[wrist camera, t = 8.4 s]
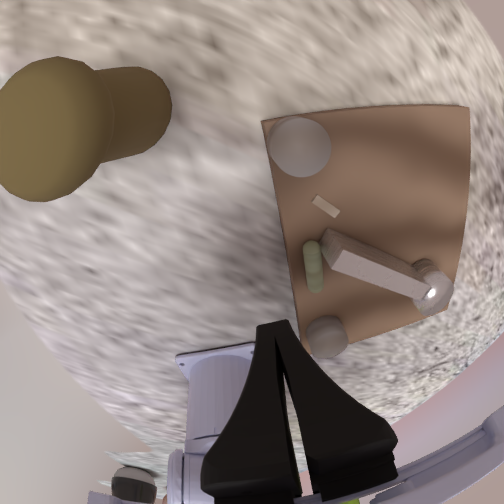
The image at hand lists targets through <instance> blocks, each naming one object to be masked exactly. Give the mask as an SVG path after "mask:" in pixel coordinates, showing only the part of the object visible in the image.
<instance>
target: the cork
mask: <svg viewBox="0 0 504 504" xmlns="http://www.w3.org/2000/svg"><path fill="white" fill-rule="evenodd" d="M171 110H172V103H171V98H170V92H169V90H168V88H167V87H166V85H165V83H164V82H163V80H162V79H161V78H160V77H159V76H157V75H156V74H155V73H154V72H152V71H150V70H147V69H144V68H141V67H120V68H111V69H102V70H95V71H94V70H93V69H92V68H90V67H89V66H88V65H86V64H85V63H84V62H81V61H77V60H73V59H69V58H64V57H59V56H57V57H52V58H47V59H42V60H38V61H35V62H32V63H30V64H28V65H27V66H25V67H24V68H22V69H21V70H19V71H18V72H16V73H15V74H14V75H13V76H12V77H11V78H10V79H9V80H8V81H7V82H6V84H5V85H4V86H3V87H2V89H1V90H0V184H1V185H2V186H3V187H4V188H5V189H6V190H7V191H8V192H9V193H11V194H13V195H15V196H17V197H19V198H22V199H24V200H27V201H33V202H48V201H52V200H55V199H58V198H60V197H63V196H66V195H69V194H71V193H72V192H73V191H75V190H76V189H77V188H78V187H79V186H81V185H82V184H83V183H84V182H86V181H87V180H88V179H89V178H91V177H92V175H93V174H94V172H95V171H96V169H97V168H98V166H99V165H100V163H104V162H108V161H112V160H116V159H120V158H124V157H129V156H132V155H136V154H139V153H143V152H144V151H146V150H147V149H149V148H150V147H152V146H154V145H155V144H156V143H157V141H158V140H159V139H160V138H161V137H162V136H163V134H164V133H165V131H166V128H167V126H168V124H169V122H170V118H171Z"/></svg>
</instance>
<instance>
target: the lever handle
mask: <svg viewBox="0 0 504 504" xmlns="http://www.w3.org/2000/svg"><path fill="white" fill-rule="evenodd" d="M319 245H320V247H321V252H322V253H323V255H324V257H325V259H326V261H327V262H328V264H329V266H330V268H331V269H332V270H335V271H338V272H341V273H344V274H346V275H349V276H352V277H355V278H358V279H361V280H363V281H366V282H369V283H372V284H375V285H377V286H380V287H383V288H386V289H389V290H391V291H394V292H397V293H400V294H403V295H405V296H408V297H409V298H410V299H411V301H412V302H413V303H414V305H415V306H416V307H417V309H418V310H419V312H420V313H421V314H422V315H424V316H430V315H433V314H436V313H437V312H439V311H440V310H442V309H443V308H444V307H445V306H446V305H447V303H448V302H449V300H450V299H451V297H452V295H453V291H454V285H453V282H452V281H451V280H450V279H449V278H448V277H447V276H446V275H445V274H444V273H443V272H442V271H441V270H440V269H439V268H438V267H437V266H436V265H435V264H434V263H433V262H432V261H431V260H428V259H424V260H420V261H418V262H416V263H415V264H414V265H411V264H409V263H406V262H404V261H402V260H400V259H398V258H396V257H393V256H391V255H389V254H387V253H385V252H383V251H380V250H378V249H376V248H374V247H371V246H369V245H367V244H365V243H362V242H360V241H358V240H356V239H353V238H351V237H349V236H346V235H344V234H342V233H339V232H337V231H335V230H332V229H330V228H327V229H326V231H325V233H324V235H323V236H322V238H321V240H320V242H319Z"/></svg>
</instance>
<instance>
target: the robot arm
mask: <svg viewBox="0 0 504 504" xmlns="http://www.w3.org/2000/svg"><path fill="white" fill-rule="evenodd" d="M175 362H176V363H177V365H178V367H179V368H180V370H181V371H182V373H183V374H184V376H185V377H186V379H187V380H188V382H189V390H188V407H187V426H186V440H185V453H183V450H182V449H176V450H175V452H173V453H171V454H170V455H169V461H168V474H167V504H341V503H344V502H348V501H351V500H355V499H358V498H361V497H364V496H367V495H370V494H373V493H376V492H379V491H381V490H384V489H387V488H389V487H392V486H394V485H397V484H399V483H401V484H399V485H397V486H395V487H393V488H391V489H388V490H386V491H384V492H382V493H379V494H377V495H376V496H375V497H376V498H374V499H372V500H371V501H370V504H442V503H444V502H446V501H447V500H449V499H451V498H453V497H454V496H456V495H458V494H459V493H461V492H462V491H464V490H466V489H467V488H469V487H470V486H472V485H474V484H475V483H476V482H478V481H479V480H481V479H482V478H484V477H485V476H487V475H488V474H489V473H491V472H492V471H493V470H495V469H496V468H497V467H499V466H500V465H501V464H502V463H504V406H502V407H501V408H499V409H498V410H497V411H495V412H494V413H492V414H491V415H490V416H489V417H487V419H485V421H484V422H483V423H482V425H480V426H478V427H477V428H475V429H474V430H472V431H470V432H469V433H467V434H466V435H464V436H462V437H460V438H459V439H457V440H455V441H453V442H452V443H450V444H448V445H446V446H444V447H442V448H440V449H439V450H437V451H435V452H433V453H431V454H429V455H427V456H424V457H422V458H420V459H418V460H416V461H414V462H411V463H409V464H407V465H404V466H402V467H400V468H397V469H396V467H395V464H394V460H395V458H394V455H393V452H392V451H393V449H394V448H395V446H396V445H397V442H398V439H397V436H396V434H395V433H394V431H393V429H392V428H391V426H390V425H389V424H388V422H387V421H386V420H385V419H384V418H382V417H380V416H379V415H377V414H375V413H374V412H372V411H371V410H369V409H368V408H366V407H365V406H363V405H362V404H360V403H359V402H358V401H356V400H355V399H354V398H352V397H351V396H350V395H349V394H347V393H346V392H345V391H344V390H342V389H341V388H340V387H339V386H338V385H337V384H336V383H335V382H334V381H333V380H332V379H331V378H330V377H329V376H328V375H327V374H326V373H325V372H324V371H323V370H322V369H321V368H320V367H319V366H318V365H317V363H316V362H315V361H314V360H313V359H312V357H311V356H310V355H309V353H308V352H307V351H306V349H305V348H304V347H303V345H302V344H301V342H300V341H299V339H298V338H297V336H296V335H295V333H294V331H293V329H292V327H291V325H290V323H289V321H288V320H286V319H285V320H280V321H276V322H272V323H267V324H262V325H258V326H257V328H256V341H255V343H249V344H244V345H238V346H233V347H228V348H222V349H216V350H210V351H204V352H198V353H192V354H185V355H178V356H176V357H175ZM283 373H284V375H283ZM284 376H285V379H286V382H287V385H288V388H289V392H290V395H291V398H292V401H293V404H294V407H295V410H296V414H297V418H298V422H299V427H300V432H301V436H302V441H303V446H304V451H305V456H306V460H307V465H308V470H309V475H310V480H311V485H312V490H313V495H309V496H304V497H302V495H301V494H302V493H303V492H302V487H301V482H300V477H299V472H298V467H297V463H296V458H295V453H294V448H293V442H292V437H291V432H290V427H289V422H288V416H287V406H286V396H285V385H284ZM404 481H405V482H404ZM402 482H404V483H402ZM87 504H147V503H139V502H131V501H125V500H121V499H119V498H117V497H115V496H111V495H107V494H103V493H98V492H93V491H90V492H89V496H88V503H87Z"/></svg>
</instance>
